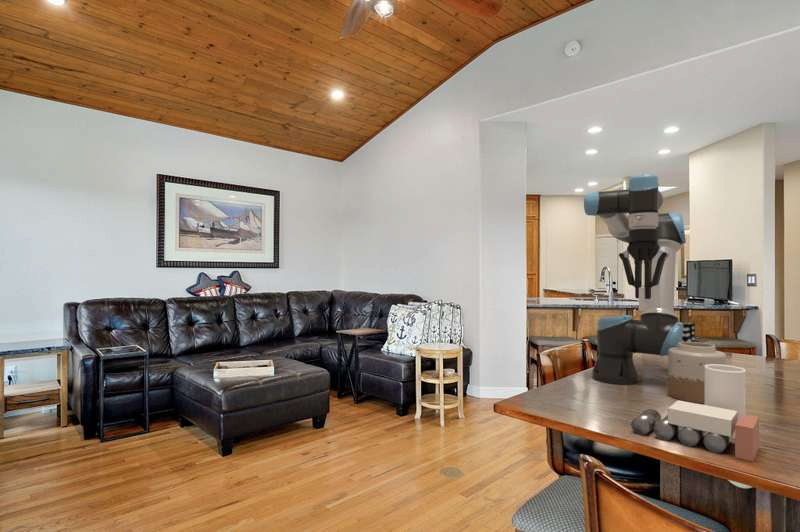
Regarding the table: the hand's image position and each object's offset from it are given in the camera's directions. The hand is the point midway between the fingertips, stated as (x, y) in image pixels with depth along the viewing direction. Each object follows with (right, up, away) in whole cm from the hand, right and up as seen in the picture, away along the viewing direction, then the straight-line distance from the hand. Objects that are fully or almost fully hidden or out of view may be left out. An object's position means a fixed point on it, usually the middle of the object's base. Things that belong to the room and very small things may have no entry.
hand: (643, 310), depth 130 cm
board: (0, -24, -25) cm, 35 cm away
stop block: (+6, -28, -31) cm, 43 cm away
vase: (+23, -29, +11) cm, 38 cm away
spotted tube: (+36, -29, +40) cm, 61 cm away
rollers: (-3, -28, -22) cm, 36 cm away
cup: (+10, -29, -19) cm, 36 cm away
